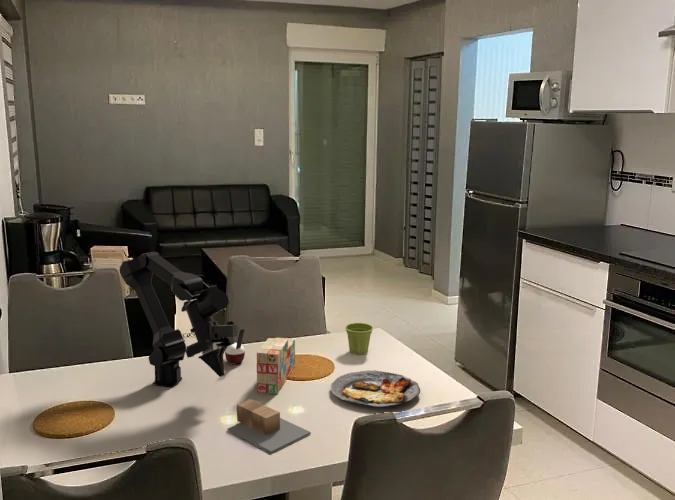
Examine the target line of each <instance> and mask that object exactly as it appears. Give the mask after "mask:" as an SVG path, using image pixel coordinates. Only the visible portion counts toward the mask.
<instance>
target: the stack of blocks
mask: <svg viewBox="0 0 675 500" xmlns="http://www.w3.org/2000/svg"><path fill="white" fill-rule="evenodd" d="M295 340H296V339H295V338H288V337H275V338H272V337H268V338H267V339H266V341H265V342H264V343H263V345H262V346H261V347H260V348H259V349H258V350H257V352H256V393H258V394H259V393H260V394H269V395H270V394H271V395H279V393H280V391H281V390H282V389H283V387H284V386H285V384H286V383H287V380H288V378H287V376H288V374H289V372H290V371H291V370H292V368H293V366H294V364H295V365H296V348H295V347H296V346H295V345H296V344H295V343H296V341H295Z"/></svg>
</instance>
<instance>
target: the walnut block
mask: <svg viewBox="0 0 675 500" xmlns="http://www.w3.org/2000/svg"><path fill="white" fill-rule="evenodd" d="M236 414H237V415H236V419H237V422H238V423H242V424H244V425H246V426H248V427H250V428H252V429H254V430H256V431H258V432H260V433H262V434H264V435H269V434H271V433H273V432H275V431H277V430H279V429H280V418H281V412H280V411H279V410H275V409H273V408H271V407H269V406H267V405H264V404H263V403H260V402H258V401H256V400H254V399H252V398H250V399H247V400H245V401H242V402H240V403H237V404H236Z"/></svg>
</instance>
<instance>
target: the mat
mask: <svg viewBox="0 0 675 500" xmlns="http://www.w3.org/2000/svg"><path fill="white" fill-rule="evenodd" d="M227 431H228V432H230V433H231V434H234V436H237V437H239V438H241V439H243V440H245V441H247V442H248V443H251V444H252V445H254V446H256V447H258V448H259V449H262V450H264V451H266V452H268V453H269V454H271V455H272V454H273V453H277V451H280V450H282V449H283V448H286V447H288V446H290V445H292V444H294V443H295V442H298V441H299V440H302V439H304V438H305V437H308V436H310V435H311V434H312V433H311V431H310V430H307V429H305V428H303V427H301V426H299V425H296V424H294V423H293V422H290V421H288V420H286V419H283V418H281V417H280V429H279V430H277V431H275V432H273V433H271V434H269V435H264V434H262V433H260V432H258V431H256V430H254V429H252V428H250V427H248V426H246V425H244V424H242V423H240V422H238V424H235V425H232V426H230V427H227Z"/></svg>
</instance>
